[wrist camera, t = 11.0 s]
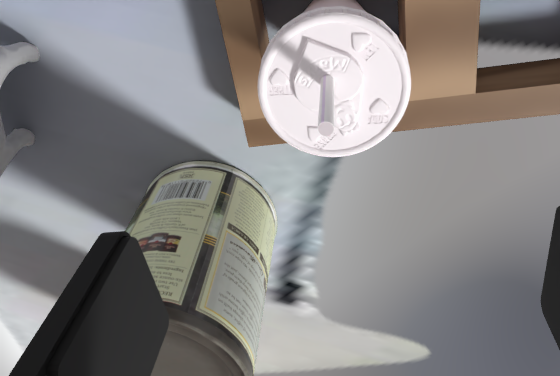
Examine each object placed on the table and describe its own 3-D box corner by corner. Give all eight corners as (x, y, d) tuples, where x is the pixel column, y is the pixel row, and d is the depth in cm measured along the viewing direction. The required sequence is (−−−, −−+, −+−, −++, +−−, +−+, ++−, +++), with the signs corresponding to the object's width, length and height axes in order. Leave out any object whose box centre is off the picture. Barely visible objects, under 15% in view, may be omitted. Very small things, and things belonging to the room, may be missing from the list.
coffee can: (203, 285, 41) (149, 455, 29) (116, 199, 36) (12, 356, 25) (305, 237, 37) (292, 411, 25) (222, 134, 32) (158, 284, 21)
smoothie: (365, -57, 25) (391, 11, 14) (406, 52, 28) (455, 184, 17) (258, -1, 27) (203, 99, 16) (306, 95, 30) (289, 238, 19)
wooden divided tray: (216, -65, 26) (202, -57, 23) (679, -151, 22) (731, -154, 19) (256, 121, 32) (248, 147, 29) (627, 78, 28) (661, 103, 25)
